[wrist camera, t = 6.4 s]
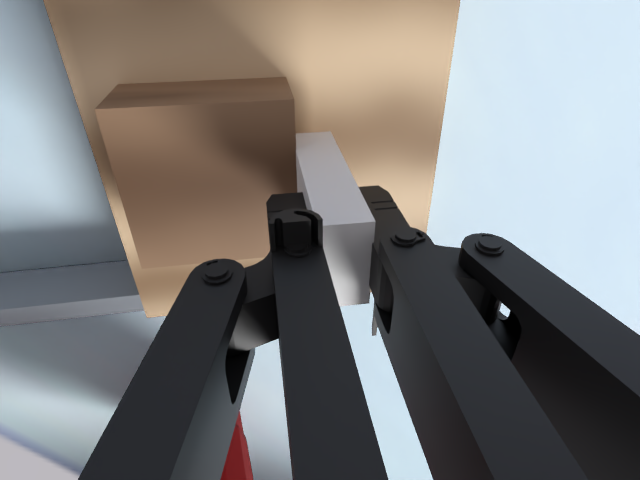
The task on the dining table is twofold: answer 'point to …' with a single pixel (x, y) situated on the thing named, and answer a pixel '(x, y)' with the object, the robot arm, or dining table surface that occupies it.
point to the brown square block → (200, 164)
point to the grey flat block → (67, 293)
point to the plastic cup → (237, 456)
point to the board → (276, 61)
